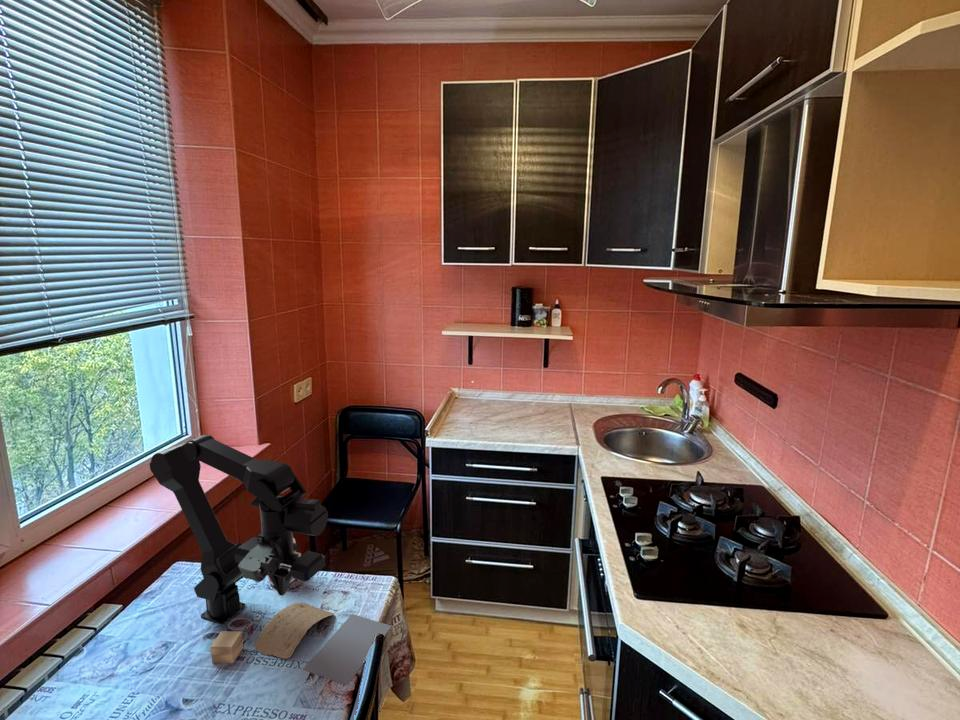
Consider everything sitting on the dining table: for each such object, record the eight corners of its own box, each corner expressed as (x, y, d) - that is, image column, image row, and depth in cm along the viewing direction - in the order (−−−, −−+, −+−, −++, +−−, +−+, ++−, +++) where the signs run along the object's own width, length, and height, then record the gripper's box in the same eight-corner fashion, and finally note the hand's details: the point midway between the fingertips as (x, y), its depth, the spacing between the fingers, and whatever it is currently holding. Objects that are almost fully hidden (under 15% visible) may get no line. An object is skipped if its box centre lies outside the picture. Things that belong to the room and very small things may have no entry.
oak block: (212, 664, 94) (210, 646, 94) (223, 648, 98) (221, 631, 97) (233, 664, 94) (231, 647, 94) (243, 648, 98) (241, 631, 97)
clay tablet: (289, 662, 95) (288, 650, 94) (250, 647, 98) (249, 635, 98) (337, 614, 108) (336, 603, 107) (301, 602, 111) (300, 592, 111)
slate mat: (302, 670, 93) (302, 669, 93) (352, 615, 108) (352, 613, 108) (347, 686, 90) (346, 685, 90) (391, 627, 104) (391, 625, 104)
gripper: (208, 537, 95) (216, 608, 98) (285, 557, 89) (291, 632, 92) (253, 510, 105) (258, 575, 108) (324, 527, 99) (328, 595, 102)
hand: (282, 594), depth 102 cm, fingers closed
